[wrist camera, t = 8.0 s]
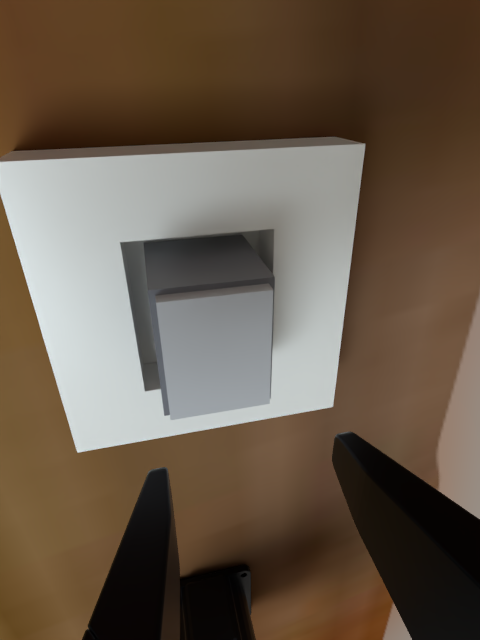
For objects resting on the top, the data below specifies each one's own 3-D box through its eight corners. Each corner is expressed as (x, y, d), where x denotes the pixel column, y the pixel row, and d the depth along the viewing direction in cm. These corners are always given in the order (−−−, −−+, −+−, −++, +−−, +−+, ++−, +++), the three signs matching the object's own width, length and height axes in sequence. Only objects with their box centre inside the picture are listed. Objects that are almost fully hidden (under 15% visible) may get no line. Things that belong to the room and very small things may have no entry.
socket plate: (313, 376, 22) (332, 406, 20) (82, 414, 20) (77, 452, 18) (335, 136, 16) (365, 144, 14) (11, 151, 14) (-9, 162, 12)
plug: (242, 337, 19) (274, 407, 15) (157, 348, 19) (165, 425, 14) (242, 234, 17) (279, 283, 13) (143, 242, 16) (148, 297, 12)
